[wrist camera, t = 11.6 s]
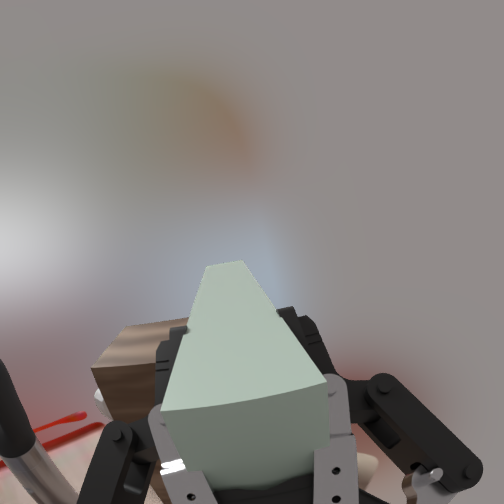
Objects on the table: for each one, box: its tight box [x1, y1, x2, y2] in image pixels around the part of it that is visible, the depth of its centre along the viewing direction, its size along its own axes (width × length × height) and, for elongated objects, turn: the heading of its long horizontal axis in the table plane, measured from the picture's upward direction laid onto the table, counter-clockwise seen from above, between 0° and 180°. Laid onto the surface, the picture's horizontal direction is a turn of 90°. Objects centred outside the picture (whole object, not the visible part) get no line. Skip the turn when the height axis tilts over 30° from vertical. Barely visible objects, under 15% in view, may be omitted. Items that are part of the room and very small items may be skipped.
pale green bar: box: [160, 260, 330, 491], centre depth 19 cm, size 26×4×4 cm, turn 6°
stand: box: [91, 317, 193, 504], centre depth 35 cm, size 14×22×32 cm, turn 97°
